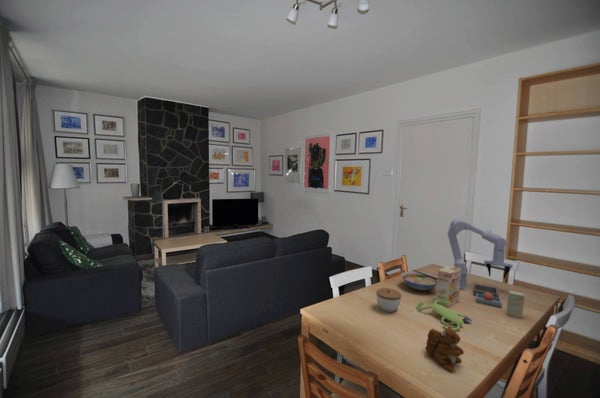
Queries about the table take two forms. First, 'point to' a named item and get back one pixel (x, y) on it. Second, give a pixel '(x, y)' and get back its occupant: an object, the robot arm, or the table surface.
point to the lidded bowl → (388, 299)
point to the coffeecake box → (448, 284)
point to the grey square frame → (485, 289)
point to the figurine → (445, 313)
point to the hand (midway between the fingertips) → (496, 276)
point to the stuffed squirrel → (444, 347)
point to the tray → (495, 302)
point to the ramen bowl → (420, 280)
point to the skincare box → (515, 304)
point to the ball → (488, 296)
